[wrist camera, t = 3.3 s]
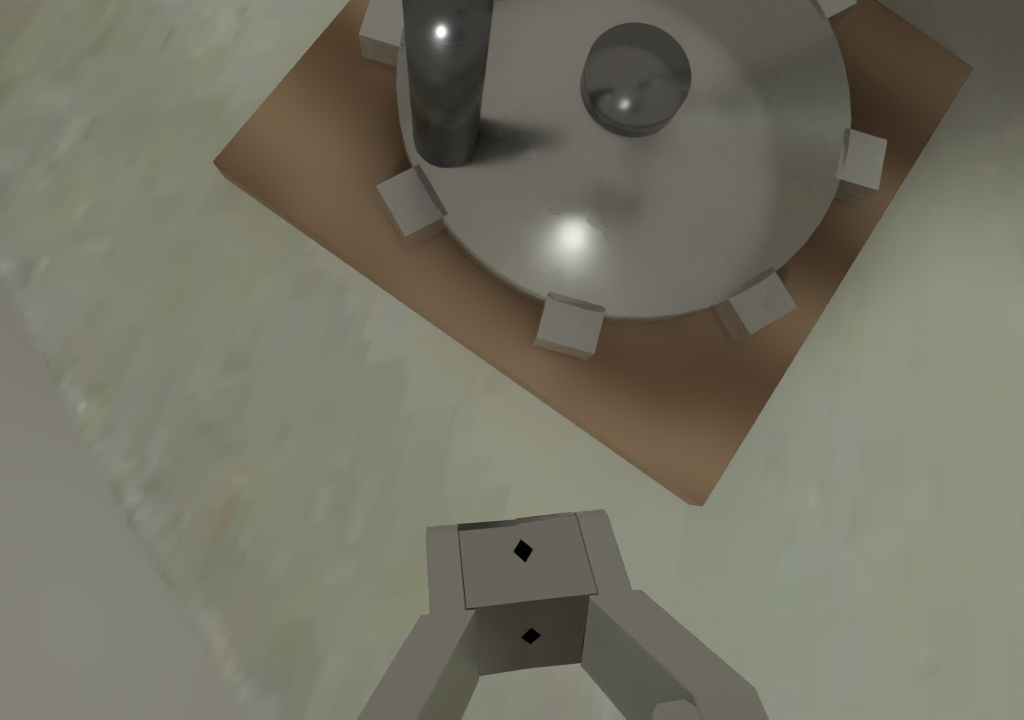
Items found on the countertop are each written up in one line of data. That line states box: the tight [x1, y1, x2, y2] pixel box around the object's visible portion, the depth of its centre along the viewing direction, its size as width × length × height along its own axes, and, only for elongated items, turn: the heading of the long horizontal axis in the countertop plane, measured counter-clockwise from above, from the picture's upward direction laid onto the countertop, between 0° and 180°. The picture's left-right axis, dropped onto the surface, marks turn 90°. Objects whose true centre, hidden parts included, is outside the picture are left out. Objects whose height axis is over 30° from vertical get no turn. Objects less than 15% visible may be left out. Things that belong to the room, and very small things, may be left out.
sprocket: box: [359, 0, 887, 360], centre depth 24 cm, size 20×20×10 cm
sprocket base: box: [213, 0, 973, 506], centre depth 29 cm, size 23×23×3 cm
